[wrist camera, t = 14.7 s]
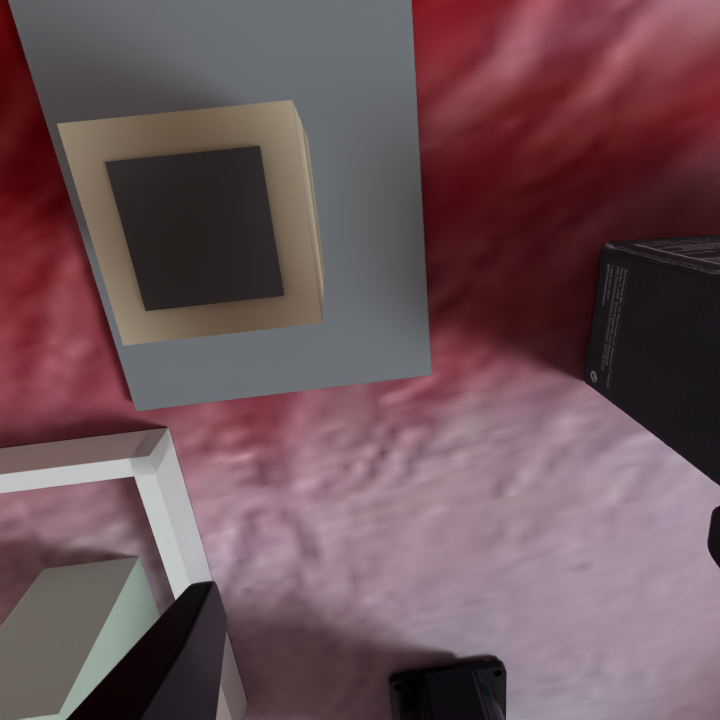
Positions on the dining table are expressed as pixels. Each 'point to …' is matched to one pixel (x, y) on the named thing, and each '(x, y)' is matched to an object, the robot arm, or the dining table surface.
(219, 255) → the labelled block
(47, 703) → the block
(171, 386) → the mat
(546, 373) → the dining table surface
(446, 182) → the dining table surface
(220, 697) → the white square frame
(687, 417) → the small box
